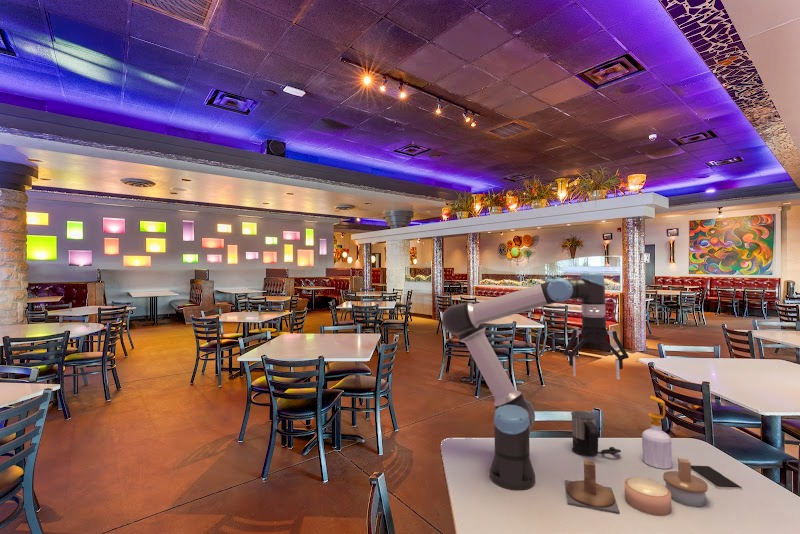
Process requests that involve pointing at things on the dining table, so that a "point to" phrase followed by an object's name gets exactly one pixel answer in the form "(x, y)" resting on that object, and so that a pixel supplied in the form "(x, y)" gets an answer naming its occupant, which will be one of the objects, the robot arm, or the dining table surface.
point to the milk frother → (586, 435)
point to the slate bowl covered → (685, 485)
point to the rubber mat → (608, 509)
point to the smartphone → (714, 478)
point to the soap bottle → (657, 442)
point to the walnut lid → (590, 489)
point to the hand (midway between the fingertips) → (595, 377)
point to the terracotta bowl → (648, 496)
